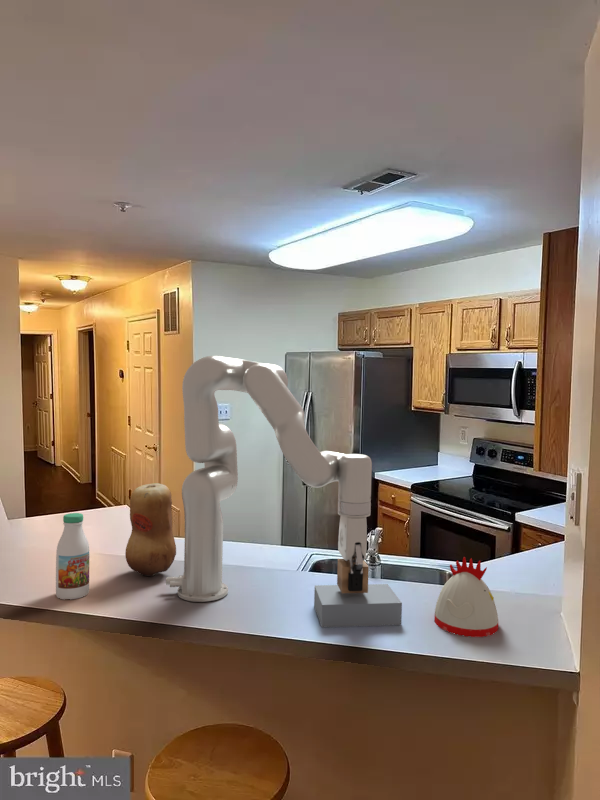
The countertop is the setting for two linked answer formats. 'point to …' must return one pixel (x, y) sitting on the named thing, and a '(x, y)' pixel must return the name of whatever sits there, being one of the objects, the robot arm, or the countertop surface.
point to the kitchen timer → (466, 603)
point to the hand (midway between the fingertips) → (352, 584)
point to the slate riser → (357, 606)
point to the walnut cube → (343, 576)
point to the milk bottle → (72, 559)
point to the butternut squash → (151, 530)
